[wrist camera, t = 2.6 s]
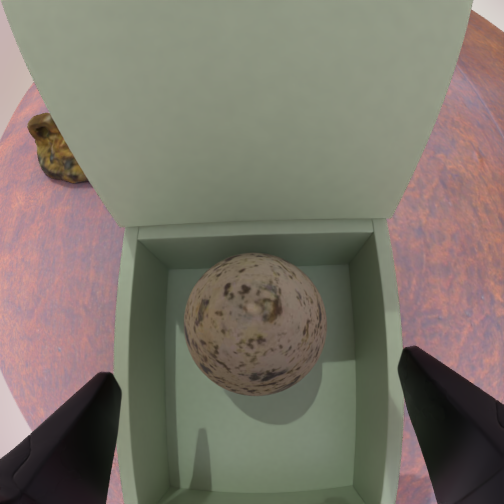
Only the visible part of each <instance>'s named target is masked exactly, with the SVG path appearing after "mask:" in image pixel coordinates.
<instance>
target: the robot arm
mask: <svg viewBox="0 0 504 504" xmlns="http://www.w3.org/2000/svg"><path fill="white" fill-rule="evenodd" d="M397 371H398V375H399V379H400V383H401V387H402V390H403V394H404V398H405V402H406V406H407V410H408V413H409V416H410V419H411V422H412V425H413V427H414V430H415V433H416V436H417V439H418V442H419V445H420V448H421V451H422V454H423V457H424V460H425V463H426V466H427V469H428V472H429V476H430V479H431V482H432V486H433V489H434V493H435V496H436V500H437V504H504V405H503V404H502V403H500V402H499V401H498V400H496V399H495V398H493V397H492V396H490V395H489V394H487V393H486V392H484V391H483V390H481V389H480V388H478V387H477V386H475V385H474V384H473V383H471V382H470V381H468V380H467V379H465V378H464V377H462V376H461V375H459V374H458V373H456V372H455V371H453V370H452V369H450V368H449V367H447V366H446V365H444V364H443V363H441V362H440V361H438V360H437V359H435V358H434V357H432V356H431V355H429V354H428V353H426V352H425V351H423V350H422V349H420V348H419V347H417V346H410V347H406V348H404V349H403V350H402V353H401V357H400V360H399V363H398V367H397ZM121 400H122V390H121V387H120V386H119V384H118V382H117V380H116V379H115V377H114V375H113V374H112V373H111V372H99V373H98V374H96V375H95V376H94V377H93V378H92V379H91V380H90V381H89V382H87V383H86V384H85V385H84V386H83V387H82V388H81V389H80V390H79V391H77V392H76V393H75V394H74V395H73V396H72V397H71V398H70V399H68V400H67V401H66V402H65V403H64V404H63V405H62V406H61V407H60V408H58V409H57V410H56V411H55V412H54V413H53V414H52V415H51V416H50V417H48V418H47V419H46V420H45V421H44V422H43V423H42V424H41V425H40V426H39V427H37V428H36V429H35V430H34V431H33V432H32V433H31V434H30V435H29V436H28V437H26V438H25V439H24V440H23V441H22V442H21V443H20V444H18V445H17V446H16V447H15V448H14V449H13V450H11V451H10V452H9V453H7V454H6V455H5V456H4V457H2V458H1V459H0V504H106V500H107V493H108V487H109V480H110V474H111V468H112V463H113V457H114V452H115V447H116V442H117V436H118V429H119V419H120V409H121Z"/></svg>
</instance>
